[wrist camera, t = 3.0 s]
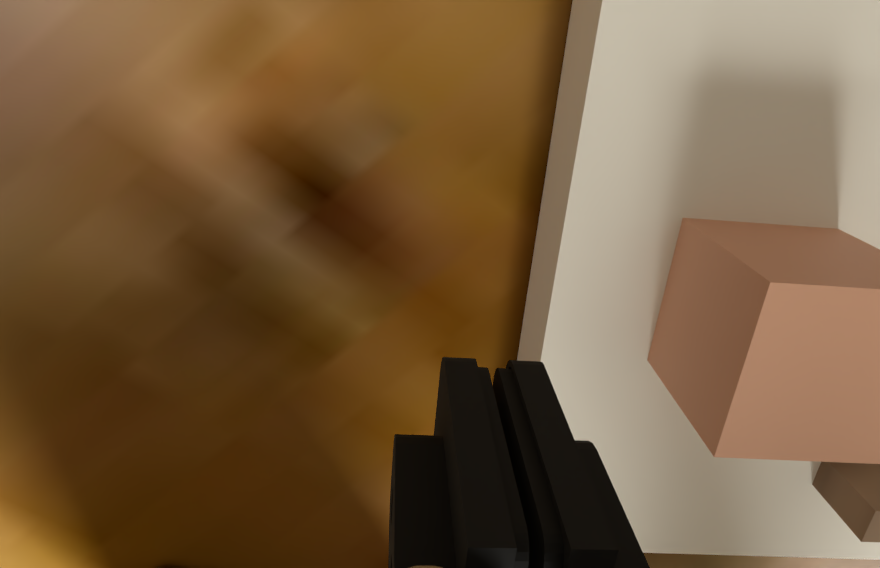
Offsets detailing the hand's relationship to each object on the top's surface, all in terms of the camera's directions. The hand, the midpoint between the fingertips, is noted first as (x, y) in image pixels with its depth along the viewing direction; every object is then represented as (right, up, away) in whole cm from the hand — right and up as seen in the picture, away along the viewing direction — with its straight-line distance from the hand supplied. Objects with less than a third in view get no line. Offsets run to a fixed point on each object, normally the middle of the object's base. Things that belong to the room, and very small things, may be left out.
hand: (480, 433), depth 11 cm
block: (+8, +2, +7) cm, 11 cm away
